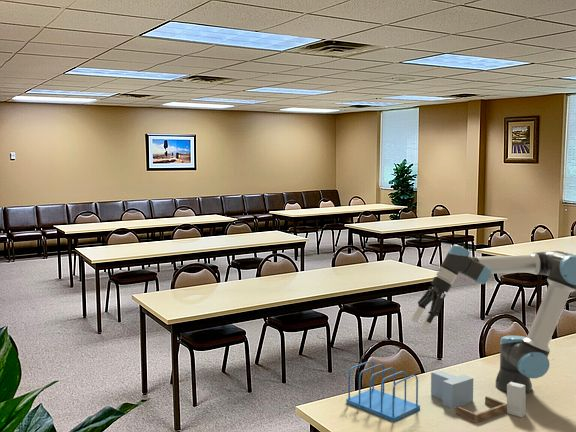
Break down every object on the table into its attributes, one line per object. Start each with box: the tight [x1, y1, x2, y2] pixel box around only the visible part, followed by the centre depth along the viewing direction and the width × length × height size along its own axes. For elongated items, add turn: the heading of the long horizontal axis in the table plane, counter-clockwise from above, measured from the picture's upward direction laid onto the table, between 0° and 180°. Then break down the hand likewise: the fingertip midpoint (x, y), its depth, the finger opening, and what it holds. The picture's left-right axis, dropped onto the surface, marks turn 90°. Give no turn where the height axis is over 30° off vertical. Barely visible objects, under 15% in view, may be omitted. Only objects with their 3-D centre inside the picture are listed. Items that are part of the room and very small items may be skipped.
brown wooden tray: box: [455, 395, 507, 424], centre depth 232 cm, size 19×10×3 cm, turn 124°
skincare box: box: [506, 382, 527, 418], centre depth 230 cm, size 6×4×12 cm
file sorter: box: [345, 360, 421, 423], centre depth 239 cm, size 25×17×15 cm
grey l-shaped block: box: [430, 369, 474, 409], centre depth 246 cm, size 13×15×10 cm
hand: (418, 325), depth 240 cm, fingers open, 13 cm apart
